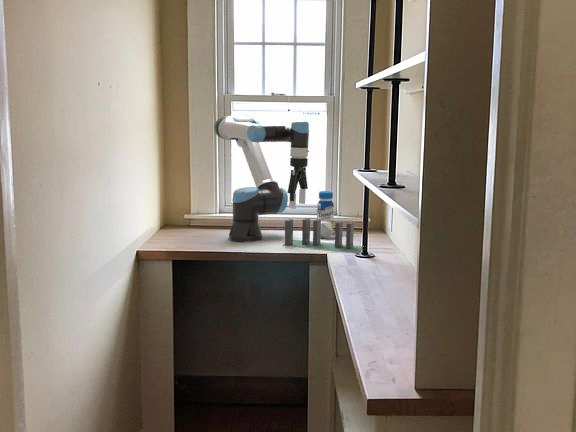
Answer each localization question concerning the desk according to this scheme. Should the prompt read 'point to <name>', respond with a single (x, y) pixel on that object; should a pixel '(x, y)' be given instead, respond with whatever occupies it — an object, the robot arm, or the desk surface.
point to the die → (326, 229)
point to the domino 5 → (349, 235)
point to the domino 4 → (338, 234)
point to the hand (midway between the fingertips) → (297, 206)
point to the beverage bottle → (325, 207)
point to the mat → (326, 247)
